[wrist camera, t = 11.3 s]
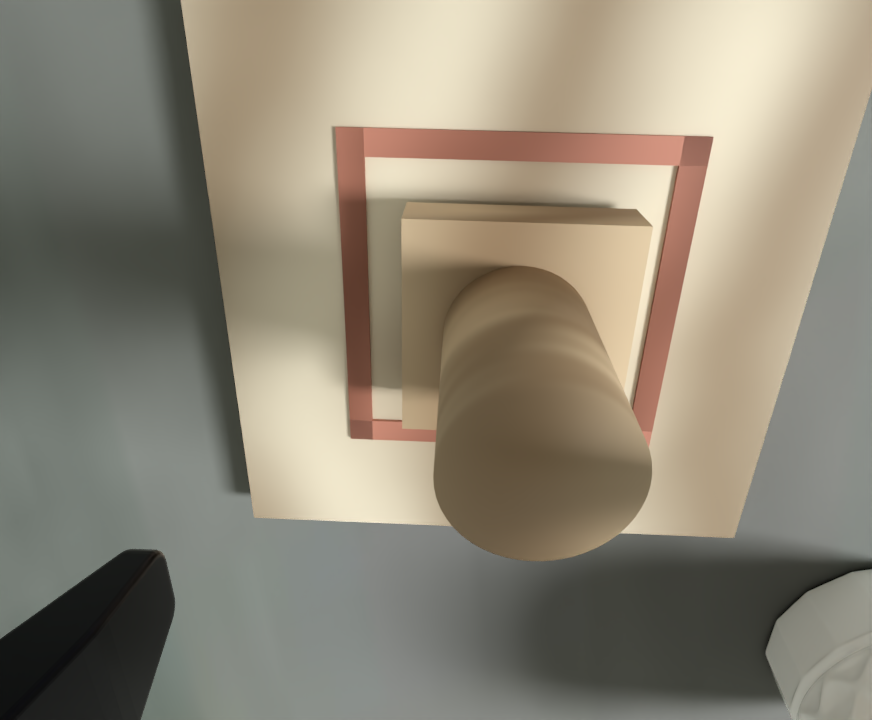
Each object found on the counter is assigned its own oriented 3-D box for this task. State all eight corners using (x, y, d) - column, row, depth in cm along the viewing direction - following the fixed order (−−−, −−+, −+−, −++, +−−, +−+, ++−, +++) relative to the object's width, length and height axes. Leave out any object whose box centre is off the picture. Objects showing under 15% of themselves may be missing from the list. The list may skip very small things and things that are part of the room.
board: (876, -22, 13) (910, -27, 12) (721, 514, 19) (735, 540, 18) (193, -36, 13) (173, -41, 12) (263, 495, 20) (253, 519, 19)
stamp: (632, 204, 14) (754, 332, 8) (601, 397, 17) (679, 608, 11) (408, 197, 14) (367, 318, 8) (408, 390, 17) (376, 594, 11)
